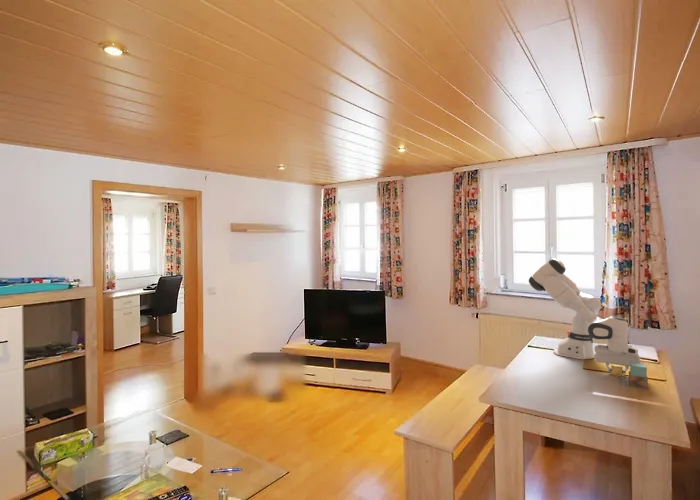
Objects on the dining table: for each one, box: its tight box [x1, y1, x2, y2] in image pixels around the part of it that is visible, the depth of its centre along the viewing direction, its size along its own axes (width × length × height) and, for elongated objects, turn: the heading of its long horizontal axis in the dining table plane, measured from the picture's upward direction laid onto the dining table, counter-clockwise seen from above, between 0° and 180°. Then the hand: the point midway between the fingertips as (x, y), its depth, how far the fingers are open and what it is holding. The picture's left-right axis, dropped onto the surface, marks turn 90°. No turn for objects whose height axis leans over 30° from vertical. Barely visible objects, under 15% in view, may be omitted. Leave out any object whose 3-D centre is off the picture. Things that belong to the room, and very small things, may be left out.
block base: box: [628, 370, 649, 388], centre depth 198 cm, size 7×7×5 cm
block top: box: [629, 362, 648, 378], centre depth 198 cm, size 6×6×5 cm
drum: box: [610, 364, 624, 377], centre depth 212 cm, size 5×5×5 cm
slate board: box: [618, 376, 649, 391], centre depth 200 cm, size 11×13×1 cm
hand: (616, 372), depth 212 cm, fingers closed on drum, 5 cm apart
